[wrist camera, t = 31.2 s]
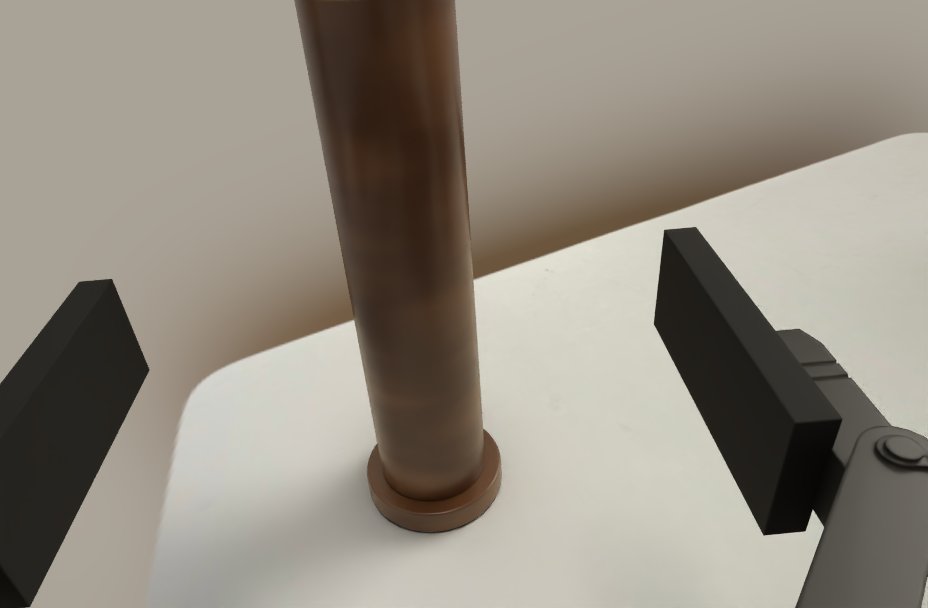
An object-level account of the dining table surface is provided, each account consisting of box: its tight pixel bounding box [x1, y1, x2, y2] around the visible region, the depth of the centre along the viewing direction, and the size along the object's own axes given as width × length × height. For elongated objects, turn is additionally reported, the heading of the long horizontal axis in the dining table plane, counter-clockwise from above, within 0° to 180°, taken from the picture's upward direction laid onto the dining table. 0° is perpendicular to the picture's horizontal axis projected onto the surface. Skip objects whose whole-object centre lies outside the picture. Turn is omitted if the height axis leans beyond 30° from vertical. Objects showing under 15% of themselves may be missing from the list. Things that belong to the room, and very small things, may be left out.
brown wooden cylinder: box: [295, 0, 501, 532], centre depth 22 cm, size 5×5×18 cm
